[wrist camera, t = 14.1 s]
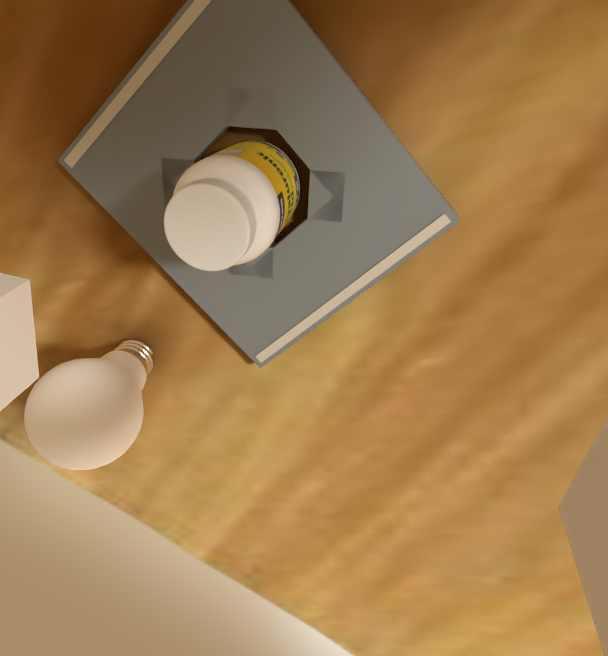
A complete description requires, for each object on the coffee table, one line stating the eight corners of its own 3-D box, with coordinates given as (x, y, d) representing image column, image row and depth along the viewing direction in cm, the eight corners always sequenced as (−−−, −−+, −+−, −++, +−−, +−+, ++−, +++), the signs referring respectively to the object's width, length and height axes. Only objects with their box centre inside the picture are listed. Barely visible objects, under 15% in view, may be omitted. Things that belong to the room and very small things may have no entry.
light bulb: (177, 312, 37) (98, 401, 27) (190, 393, 40) (122, 499, 30) (89, 308, 38) (-18, 393, 28) (107, 388, 41) (16, 489, 31)
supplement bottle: (312, 217, 33) (280, 274, 24) (231, 237, 34) (172, 298, 25) (287, 126, 31) (241, 152, 22) (201, 151, 32) (127, 185, 23)
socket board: (244, -58, 27) (237, -63, 26) (457, 215, 31) (460, 221, 30) (68, 157, 33) (56, 161, 32) (264, 359, 38) (260, 368, 37)
